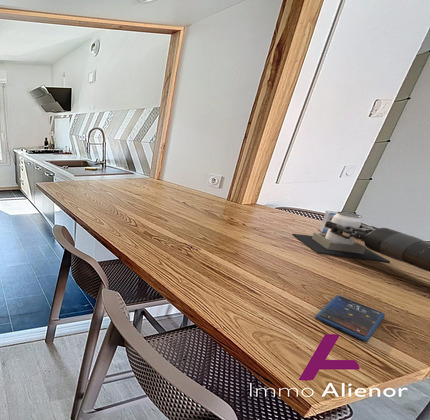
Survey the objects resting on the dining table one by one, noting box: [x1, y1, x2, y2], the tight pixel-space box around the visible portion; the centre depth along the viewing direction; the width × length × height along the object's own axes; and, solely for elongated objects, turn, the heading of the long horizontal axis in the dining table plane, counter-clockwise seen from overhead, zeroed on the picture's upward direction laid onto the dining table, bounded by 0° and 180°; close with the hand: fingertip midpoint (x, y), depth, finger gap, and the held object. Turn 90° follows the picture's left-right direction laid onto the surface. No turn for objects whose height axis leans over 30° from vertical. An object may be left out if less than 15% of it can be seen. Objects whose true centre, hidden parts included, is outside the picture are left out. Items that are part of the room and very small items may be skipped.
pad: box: [291, 232, 391, 264], centre depth 86 cm, size 18×16×3 cm
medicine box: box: [318, 210, 338, 234], centre depth 97 cm, size 8×4×9 cm, turn 55°
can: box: [325, 211, 363, 244], centre depth 85 cm, size 6×6×12 cm
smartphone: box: [315, 294, 386, 342], centre depth 54 cm, size 8×1×15 cm
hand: (337, 224), depth 86 cm, fingers closed on can, 6 cm apart
